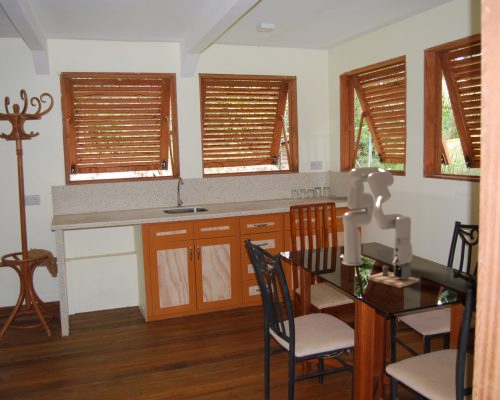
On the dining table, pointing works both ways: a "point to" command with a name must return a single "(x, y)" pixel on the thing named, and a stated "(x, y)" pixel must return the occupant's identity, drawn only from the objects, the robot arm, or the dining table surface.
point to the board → (392, 278)
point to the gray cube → (404, 271)
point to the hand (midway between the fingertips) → (402, 275)
